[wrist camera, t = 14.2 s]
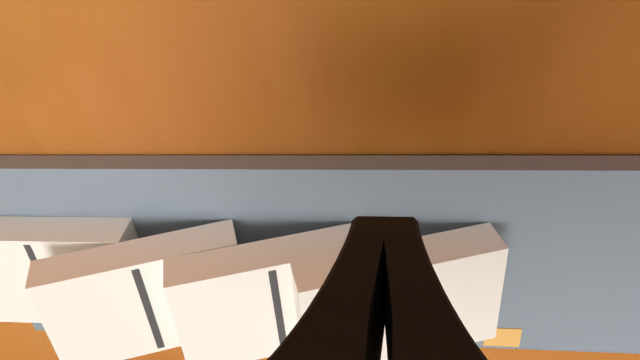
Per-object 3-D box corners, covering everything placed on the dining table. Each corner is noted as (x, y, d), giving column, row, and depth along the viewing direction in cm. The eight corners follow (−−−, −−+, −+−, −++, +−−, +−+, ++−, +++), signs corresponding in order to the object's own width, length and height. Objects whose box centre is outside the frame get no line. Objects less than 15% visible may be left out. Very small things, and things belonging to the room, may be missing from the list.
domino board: (721, 155, 22) (734, 172, 21) (654, 336, 28) (661, 355, 27) (-33, 155, 26) (-48, 169, 25) (44, 315, 32) (34, 331, 31)
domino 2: (374, 246, 23) (163, 288, 22) (376, 333, 26) (189, 374, 25) (363, 220, 25) (163, 258, 24) (366, 306, 28) (188, 343, 27)
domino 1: (237, 243, 24) (24, 289, 23) (253, 329, 27) (66, 373, 26) (231, 218, 25) (30, 260, 24) (248, 302, 28) (69, 344, 27)
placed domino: (509, 248, 23) (298, 293, 22) (495, 337, 26) (309, 381, 24) (489, 221, 24) (290, 262, 23) (478, 309, 27) (301, 349, 26)
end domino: (117, 242, 25) (-65, 240, 26) (146, 326, 27) (-18, 321, 28) (131, 217, 26) (-42, 215, 27) (158, 299, 29) (0, 295, 30)
